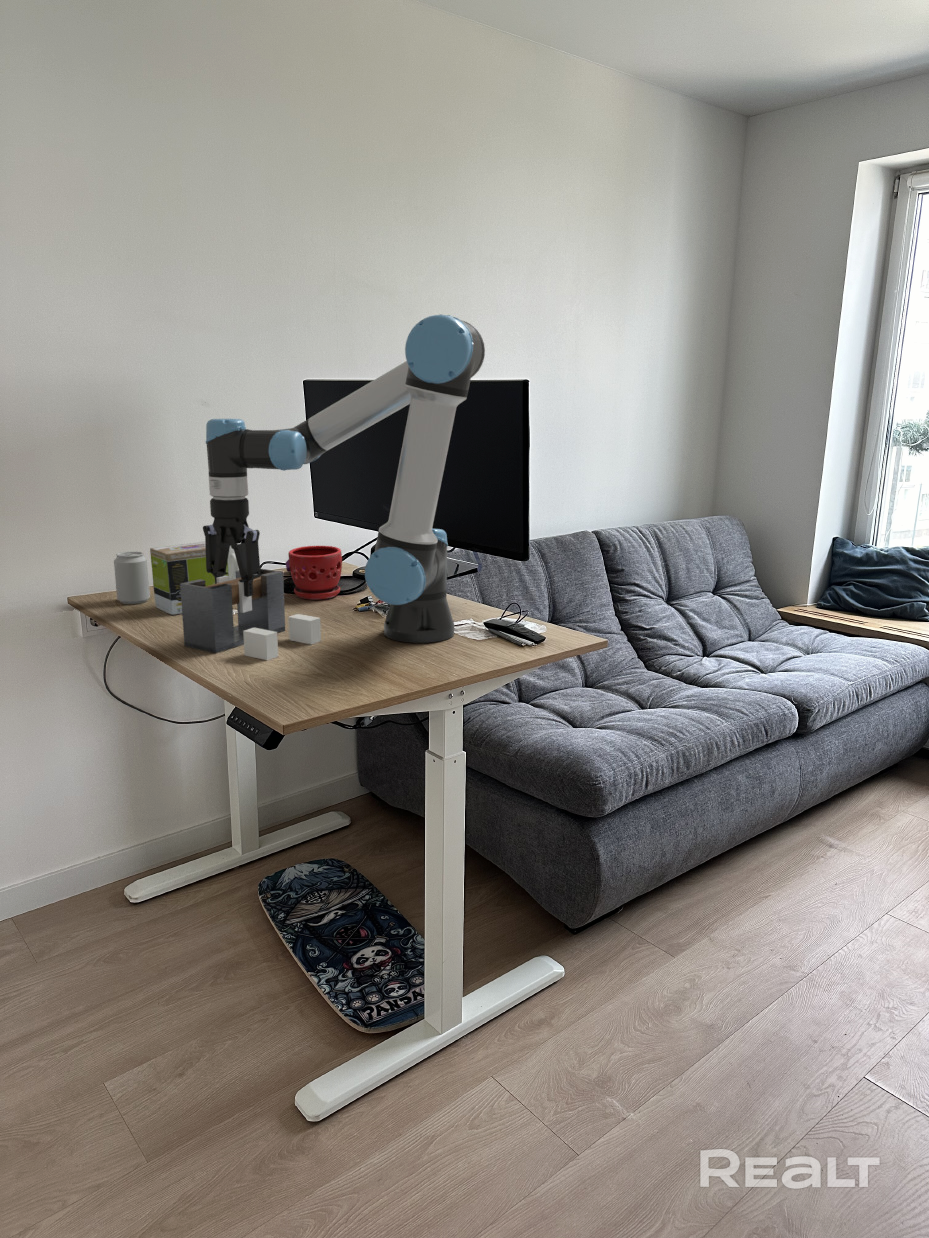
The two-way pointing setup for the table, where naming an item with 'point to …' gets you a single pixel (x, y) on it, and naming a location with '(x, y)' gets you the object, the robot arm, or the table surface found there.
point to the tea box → (177, 573)
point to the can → (131, 577)
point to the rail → (235, 589)
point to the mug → (232, 564)
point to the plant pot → (316, 571)
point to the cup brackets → (229, 612)
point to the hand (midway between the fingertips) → (235, 609)
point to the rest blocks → (265, 641)
